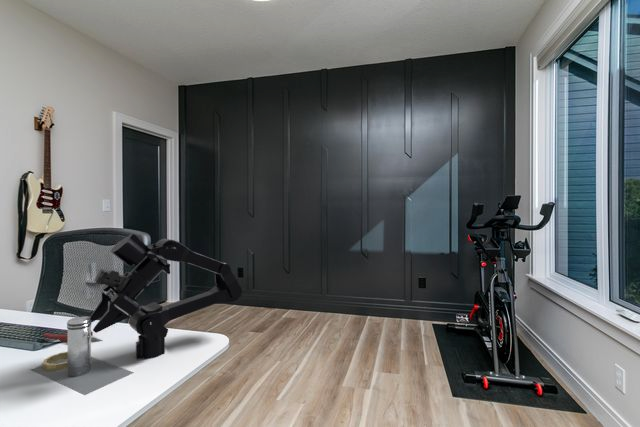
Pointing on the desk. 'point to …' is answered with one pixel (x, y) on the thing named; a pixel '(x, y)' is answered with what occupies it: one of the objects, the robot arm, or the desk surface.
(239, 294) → the robot arm
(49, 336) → the pliers
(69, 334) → the piston
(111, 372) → the mat
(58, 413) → the desk surface
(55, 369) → the socket collar
